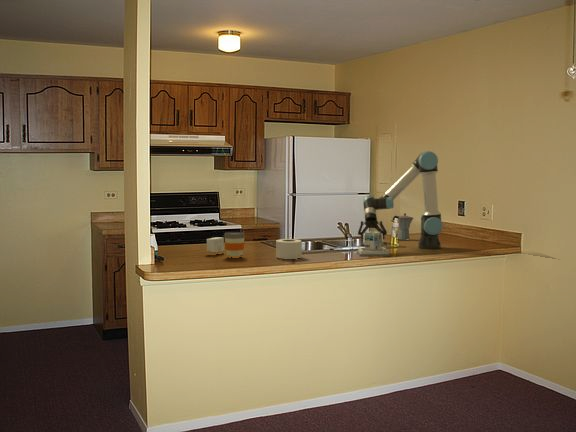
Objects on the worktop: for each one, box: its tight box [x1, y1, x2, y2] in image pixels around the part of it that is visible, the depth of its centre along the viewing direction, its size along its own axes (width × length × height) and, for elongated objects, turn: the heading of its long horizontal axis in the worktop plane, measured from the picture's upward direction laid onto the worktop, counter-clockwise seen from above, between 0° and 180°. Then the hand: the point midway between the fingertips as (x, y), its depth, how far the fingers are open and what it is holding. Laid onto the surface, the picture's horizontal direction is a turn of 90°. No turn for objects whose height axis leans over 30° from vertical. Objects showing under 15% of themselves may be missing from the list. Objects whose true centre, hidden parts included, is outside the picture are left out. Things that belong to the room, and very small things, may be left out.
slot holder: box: [356, 246, 391, 257], centre depth 395 cm, size 19×19×3 cm
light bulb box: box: [364, 230, 382, 250], centre depth 394 cm, size 11×7×11 cm, turn 148°
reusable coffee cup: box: [223, 231, 246, 256], centre depth 381 cm, size 13×13×15 cm
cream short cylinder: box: [275, 238, 303, 260], centre depth 379 cm, size 16×15×11 cm
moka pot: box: [392, 212, 414, 241], centre depth 468 cm, size 10×15×20 cm, turn 78°
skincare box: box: [206, 236, 225, 252], centre depth 395 cm, size 10×6×10 cm, turn 152°
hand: (373, 242), depth 392 cm, fingers closed on light bulb box, 11 cm apart
